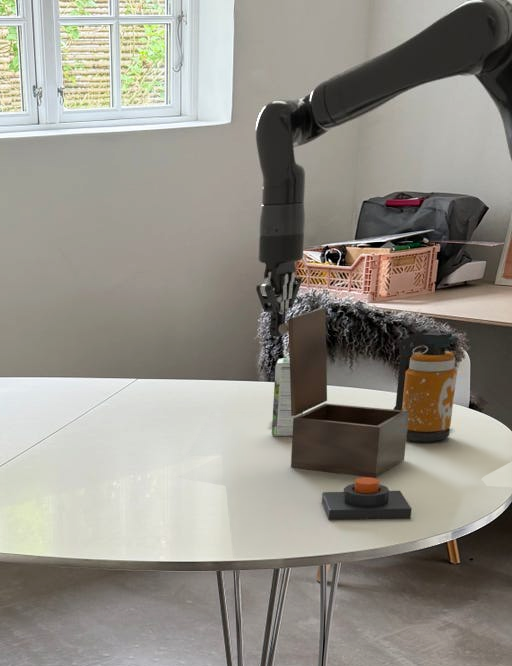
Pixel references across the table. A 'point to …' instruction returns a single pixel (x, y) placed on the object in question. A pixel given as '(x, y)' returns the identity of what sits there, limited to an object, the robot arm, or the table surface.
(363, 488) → the button
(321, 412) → the brown wooden box
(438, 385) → the canister
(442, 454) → the table surface
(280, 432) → the syrup box
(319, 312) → the brown box lid
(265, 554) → the table surface
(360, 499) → the control block
